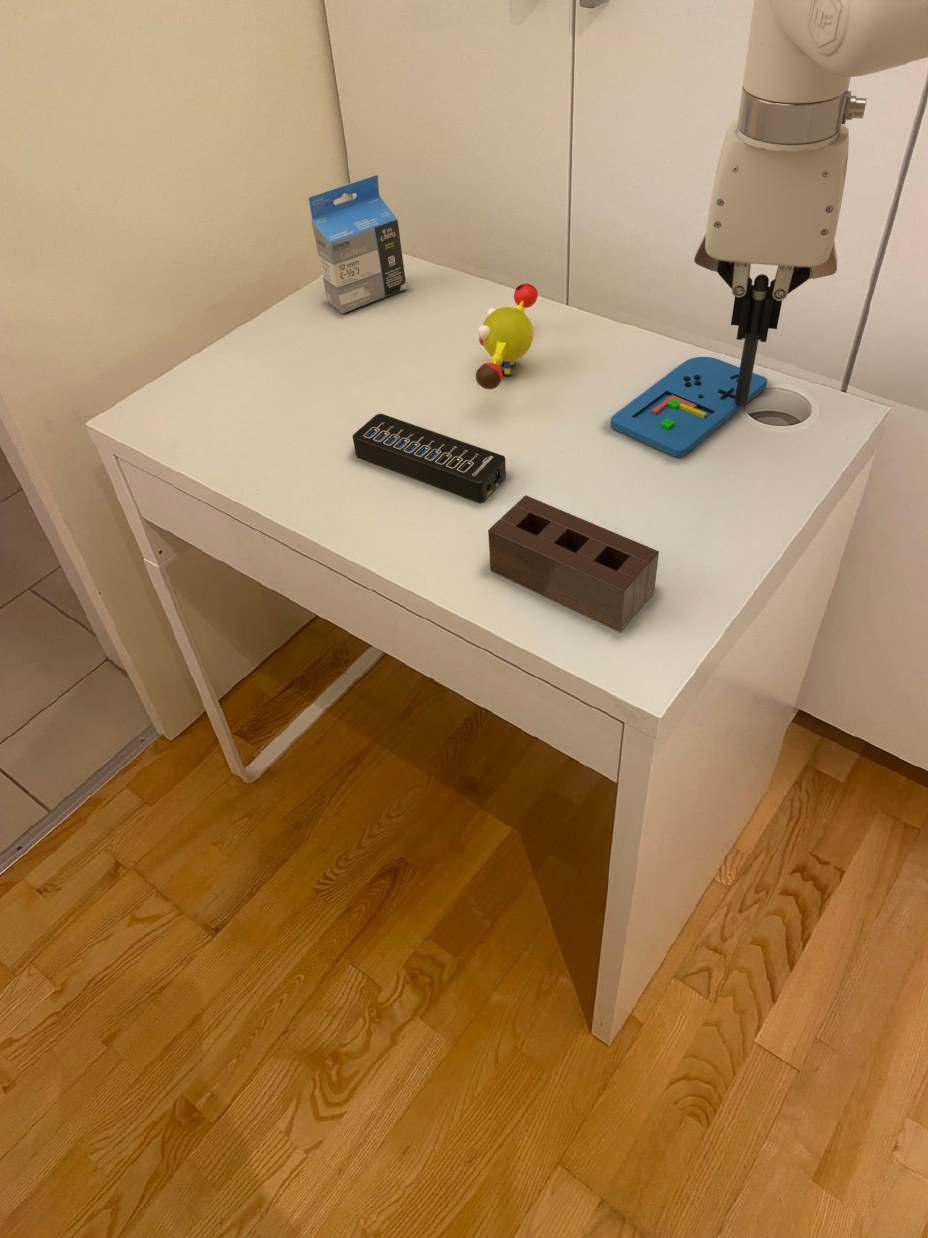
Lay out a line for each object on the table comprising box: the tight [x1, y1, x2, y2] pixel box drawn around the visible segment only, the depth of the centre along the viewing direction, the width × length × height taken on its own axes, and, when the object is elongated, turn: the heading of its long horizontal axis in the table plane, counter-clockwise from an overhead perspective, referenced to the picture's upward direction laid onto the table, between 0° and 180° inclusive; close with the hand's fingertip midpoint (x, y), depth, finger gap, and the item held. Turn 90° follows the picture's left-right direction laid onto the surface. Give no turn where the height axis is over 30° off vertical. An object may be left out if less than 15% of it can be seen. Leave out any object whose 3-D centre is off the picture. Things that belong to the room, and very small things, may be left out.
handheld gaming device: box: [610, 356, 768, 458], centre depth 92 cm, size 8×1×15 cm
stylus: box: [735, 273, 770, 408], centre depth 86 cm, size 1×1×13 cm
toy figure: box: [475, 283, 539, 390], centre depth 97 cm, size 18×6×7 cm, turn 164°
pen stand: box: [487, 494, 660, 633], centre depth 76 cm, size 5×12×4 cm, turn 53°
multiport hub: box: [352, 413, 507, 504], centre depth 88 cm, size 4×14×2 cm, turn 56°
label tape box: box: [308, 174, 407, 314], centre depth 107 cm, size 9×4×12 cm, turn 124°
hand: (752, 331), depth 85 cm, fingers closed on stylus, 1 cm apart
